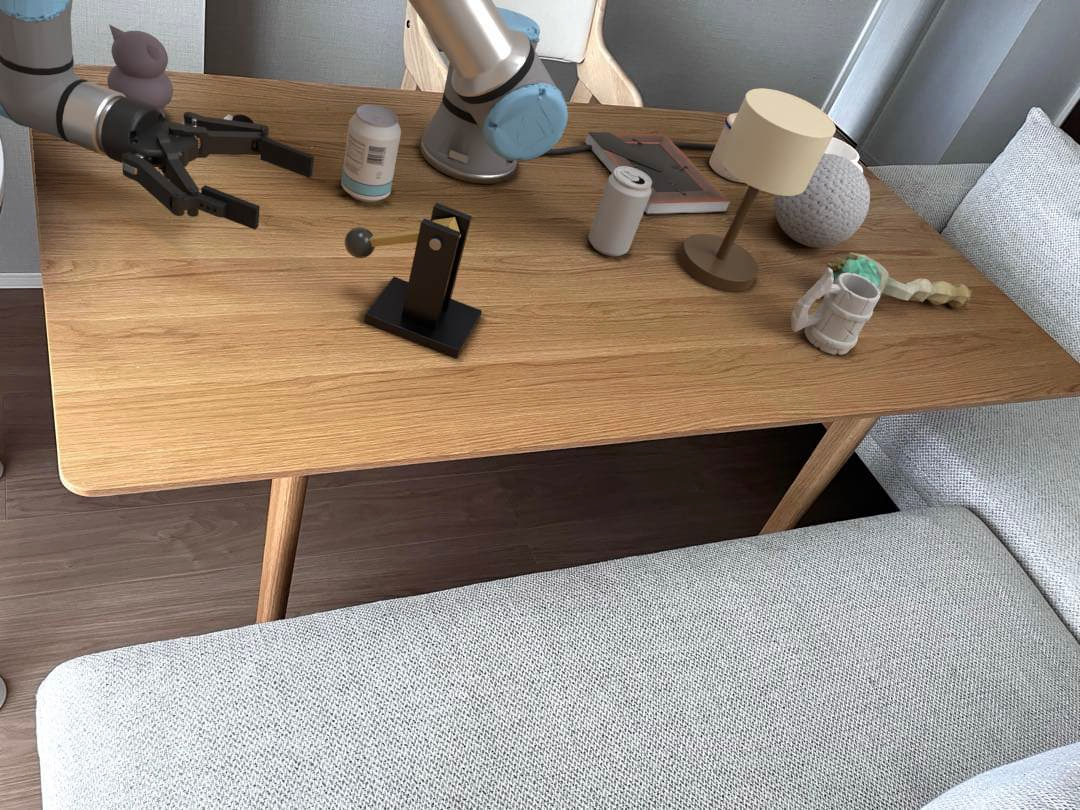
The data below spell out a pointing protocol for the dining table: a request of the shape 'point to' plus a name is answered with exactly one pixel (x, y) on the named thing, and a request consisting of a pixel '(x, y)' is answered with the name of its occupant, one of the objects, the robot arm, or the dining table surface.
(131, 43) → the cat figurine
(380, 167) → the beverage can
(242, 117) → the watch
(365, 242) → the lamp switch
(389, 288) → the switch bracket
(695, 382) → the dining table surface
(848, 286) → the mug
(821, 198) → the decorative ball
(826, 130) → the lamp
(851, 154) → the mug
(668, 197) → the picture frame
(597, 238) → the beverage can
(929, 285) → the scepter
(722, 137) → the teacup with lid
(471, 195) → the dining table surface
